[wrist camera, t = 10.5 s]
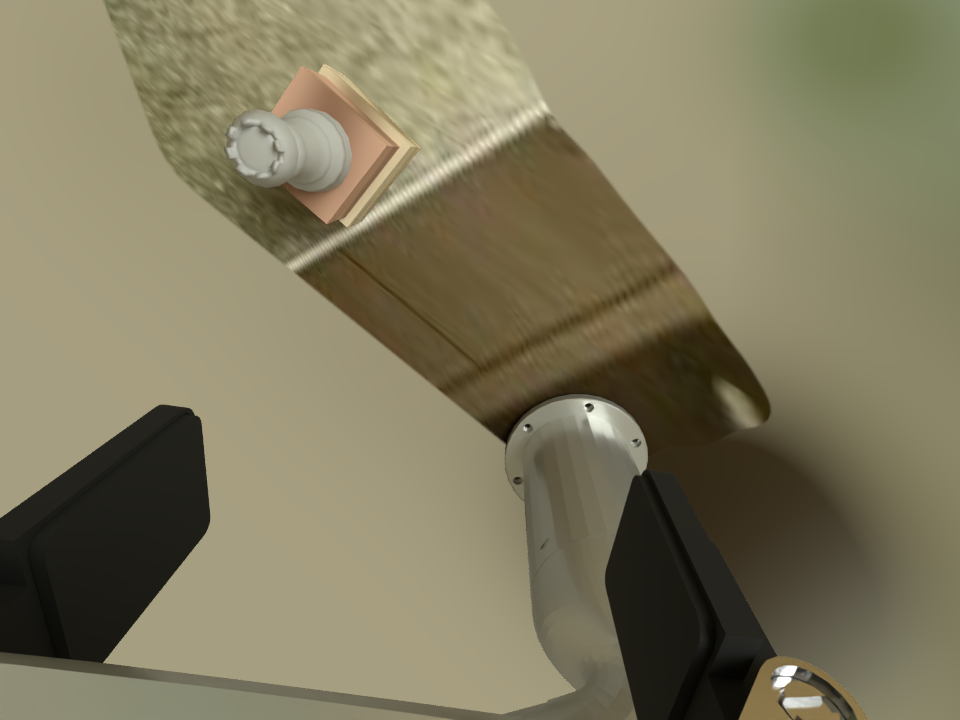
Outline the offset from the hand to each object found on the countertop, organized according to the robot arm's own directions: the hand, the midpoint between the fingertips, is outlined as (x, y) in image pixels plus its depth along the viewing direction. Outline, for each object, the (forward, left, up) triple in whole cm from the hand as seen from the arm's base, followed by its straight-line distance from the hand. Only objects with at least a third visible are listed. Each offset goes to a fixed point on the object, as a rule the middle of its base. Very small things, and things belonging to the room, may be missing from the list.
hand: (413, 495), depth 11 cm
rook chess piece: (+6, +10, -22) cm, 25 cm away
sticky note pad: (+6, +10, -30) cm, 32 cm away
